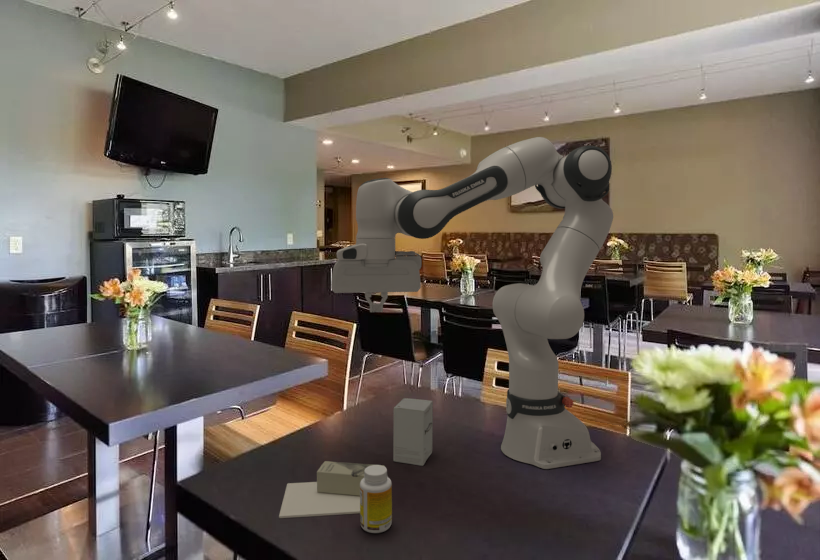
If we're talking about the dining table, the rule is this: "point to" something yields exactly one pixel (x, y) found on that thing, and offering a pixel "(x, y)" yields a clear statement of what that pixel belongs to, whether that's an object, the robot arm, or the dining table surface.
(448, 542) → the dining table surface
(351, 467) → the box
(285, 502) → the mat
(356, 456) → the dining table surface
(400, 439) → the supplement box
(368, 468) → the supplement bottle
